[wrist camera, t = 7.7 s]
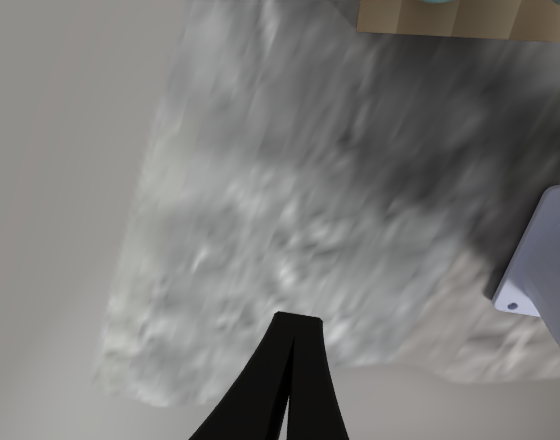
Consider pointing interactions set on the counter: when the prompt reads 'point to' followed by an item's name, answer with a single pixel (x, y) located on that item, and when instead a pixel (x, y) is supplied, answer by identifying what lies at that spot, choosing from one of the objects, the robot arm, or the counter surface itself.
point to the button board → (463, 18)
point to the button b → (435, 1)
